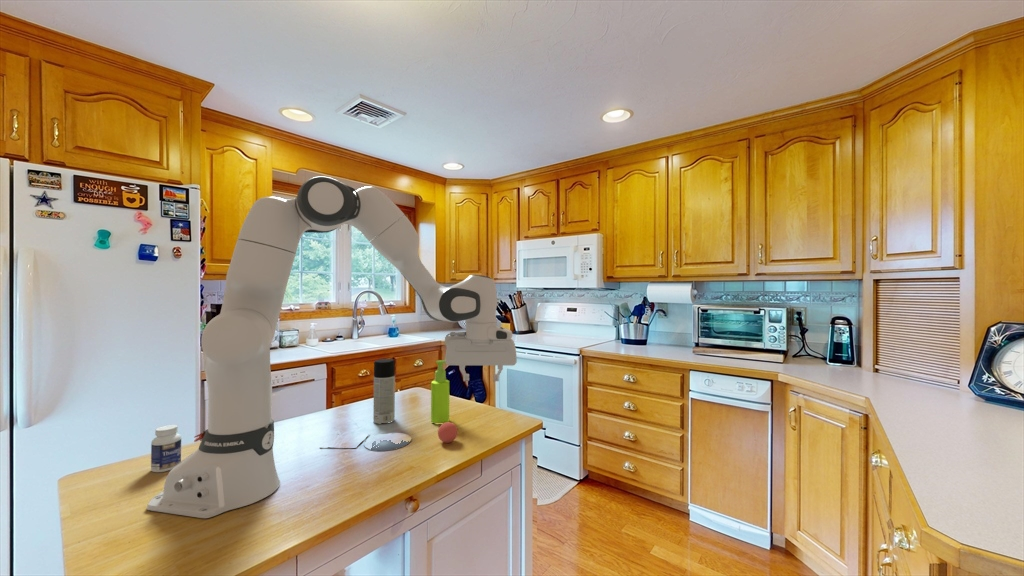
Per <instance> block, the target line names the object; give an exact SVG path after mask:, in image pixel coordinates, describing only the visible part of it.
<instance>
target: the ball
mask: <svg viewBox="0 0 1024 576" xmlns="http://www.w3.org/2000/svg"><path fill="white" fill-rule="evenodd" d="M437 436H438V438H439V440H440V441H441V442H442V443H447V444H449V443H452V442H454V441H455V439H456V438H457V436H458V427H457V426H456V424H455V423H452V422H450V421H449V422H446V423H443V424H441V425H440V426H439V427H438V430H437Z"/></svg>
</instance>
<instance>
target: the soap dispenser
mask: <svg viewBox="0 0 1024 576" xmlns="http://www.w3.org/2000/svg"><path fill="white" fill-rule="evenodd" d="M435 364H437V369H436V370H435V372H434V379H433V380H432V381H431V382H430V396H431V397H430V422H433V423H446V422H448V421H449V422H450V380H448V379H447V377H446V376H447V375H446V374H447V373H446V370H445V369H444V364H446V362H445V359H443V360H441V359H439V360H436V361H435Z"/></svg>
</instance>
